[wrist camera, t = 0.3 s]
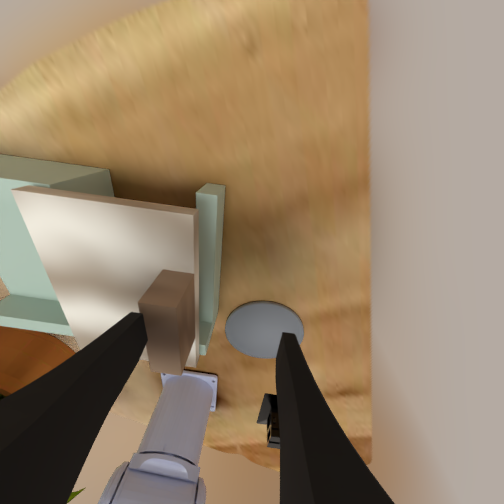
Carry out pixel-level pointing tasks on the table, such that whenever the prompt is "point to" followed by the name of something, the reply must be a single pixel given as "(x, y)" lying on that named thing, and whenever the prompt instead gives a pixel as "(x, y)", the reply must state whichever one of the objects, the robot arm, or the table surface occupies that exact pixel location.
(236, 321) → the mat
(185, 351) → the lid
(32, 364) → the decorative plant
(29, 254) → the sage green u-shaped tray
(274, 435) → the black small block
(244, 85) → the table surface
